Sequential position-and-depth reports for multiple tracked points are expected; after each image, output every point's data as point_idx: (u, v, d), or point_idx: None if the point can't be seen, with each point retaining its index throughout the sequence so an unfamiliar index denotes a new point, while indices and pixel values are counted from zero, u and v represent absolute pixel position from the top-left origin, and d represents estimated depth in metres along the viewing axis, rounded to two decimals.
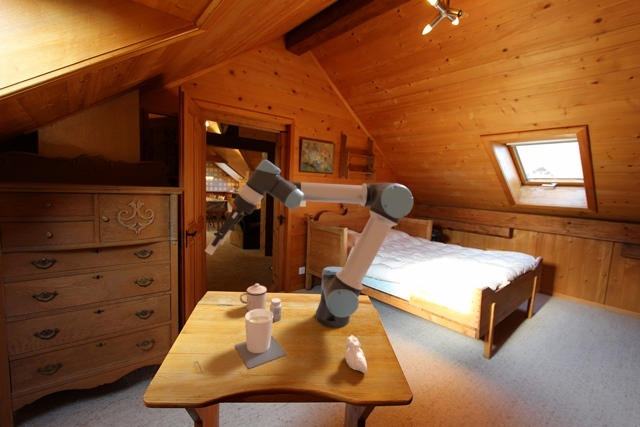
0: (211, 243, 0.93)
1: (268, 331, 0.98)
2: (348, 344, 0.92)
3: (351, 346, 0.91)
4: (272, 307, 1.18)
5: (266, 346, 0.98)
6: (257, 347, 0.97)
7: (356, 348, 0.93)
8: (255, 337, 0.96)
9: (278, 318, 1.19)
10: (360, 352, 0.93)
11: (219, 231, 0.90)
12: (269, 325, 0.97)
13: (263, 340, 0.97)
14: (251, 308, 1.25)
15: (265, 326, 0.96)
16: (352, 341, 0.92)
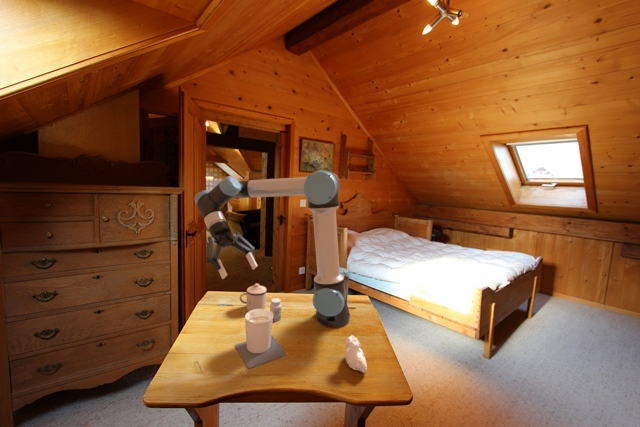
0: (218, 270, 0.99)
1: (268, 331, 0.98)
2: (348, 344, 0.92)
3: (351, 346, 0.91)
4: (272, 307, 1.18)
5: (266, 346, 0.98)
6: (257, 347, 0.97)
7: (356, 348, 0.93)
8: (255, 337, 0.96)
9: (278, 318, 1.19)
10: (360, 352, 0.93)
11: (206, 257, 0.99)
12: (269, 325, 0.97)
13: (263, 340, 0.97)
14: (251, 308, 1.25)
15: (265, 326, 0.96)
16: (352, 341, 0.92)
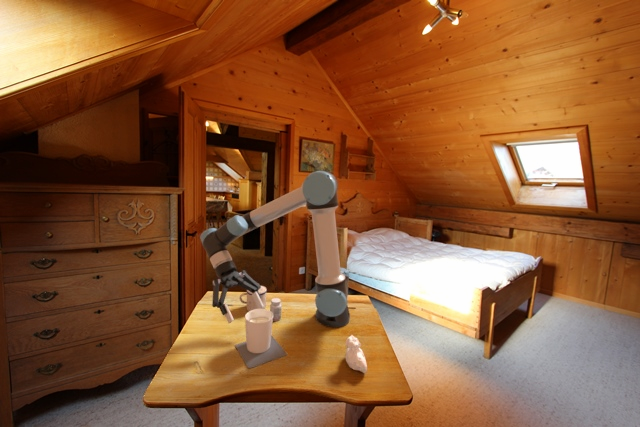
0: (225, 314, 0.98)
1: (268, 331, 0.98)
2: (348, 344, 0.92)
3: (351, 346, 0.91)
4: (272, 307, 1.18)
5: (266, 346, 0.98)
6: (257, 347, 0.97)
7: (356, 348, 0.93)
8: (255, 337, 0.96)
9: (278, 318, 1.19)
10: (360, 352, 0.93)
11: (212, 302, 0.98)
12: (269, 325, 0.97)
13: (263, 340, 0.97)
14: (251, 308, 1.25)
15: (265, 326, 0.96)
16: (352, 341, 0.92)
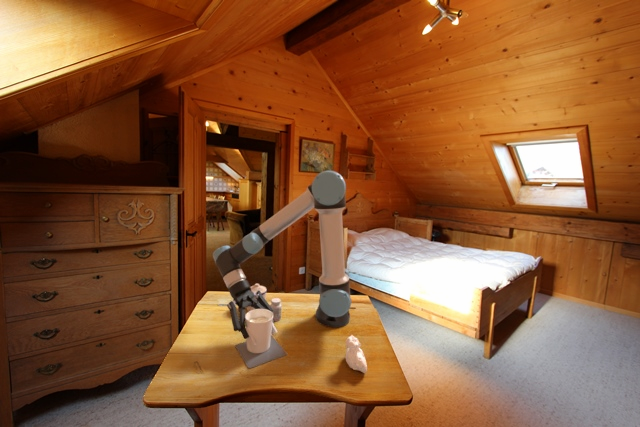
0: None
1: (268, 331, 0.98)
2: (348, 344, 0.92)
3: (351, 346, 0.91)
4: (272, 307, 1.18)
5: (266, 346, 0.98)
6: (257, 347, 0.97)
7: (356, 348, 0.93)
8: (255, 337, 0.96)
9: (278, 318, 1.19)
10: (360, 352, 0.93)
11: (233, 326, 0.96)
12: (269, 325, 0.97)
13: (263, 340, 0.97)
14: (251, 308, 1.25)
15: (265, 326, 0.96)
16: (352, 341, 0.92)
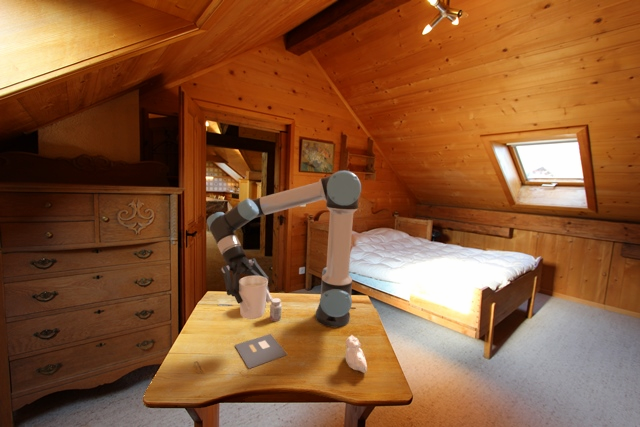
0: (240, 302, 0.93)
1: (262, 296, 0.95)
2: (348, 344, 0.92)
3: (351, 346, 0.91)
4: (272, 307, 1.18)
5: (260, 312, 0.96)
6: (251, 312, 0.94)
7: (356, 348, 0.93)
8: (249, 302, 0.93)
9: (278, 318, 1.19)
10: (360, 352, 0.93)
11: (226, 290, 0.93)
12: (263, 290, 0.95)
13: (257, 305, 0.94)
14: None
15: (259, 290, 0.93)
16: (352, 341, 0.92)
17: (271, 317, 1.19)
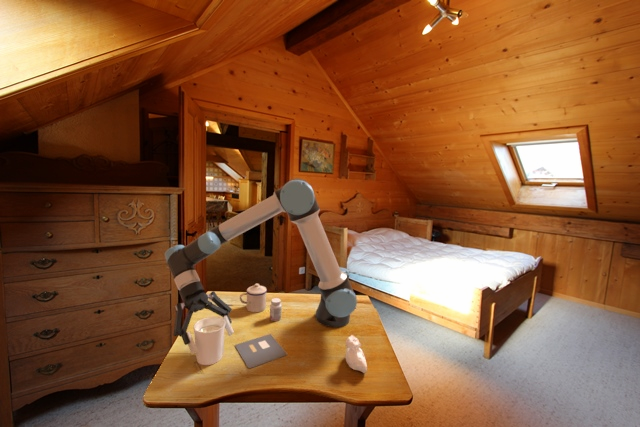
0: (188, 343, 0.88)
1: (218, 341, 0.91)
2: (348, 344, 0.92)
3: (351, 346, 0.91)
4: (272, 307, 1.18)
5: (216, 357, 0.92)
6: (206, 358, 0.90)
7: (356, 348, 0.93)
8: (203, 348, 0.89)
9: (278, 318, 1.19)
10: (360, 352, 0.93)
11: (174, 330, 0.88)
12: (219, 335, 0.91)
13: (212, 351, 0.90)
14: (251, 308, 1.25)
15: (214, 336, 0.89)
16: (352, 341, 0.92)
17: (271, 317, 1.19)
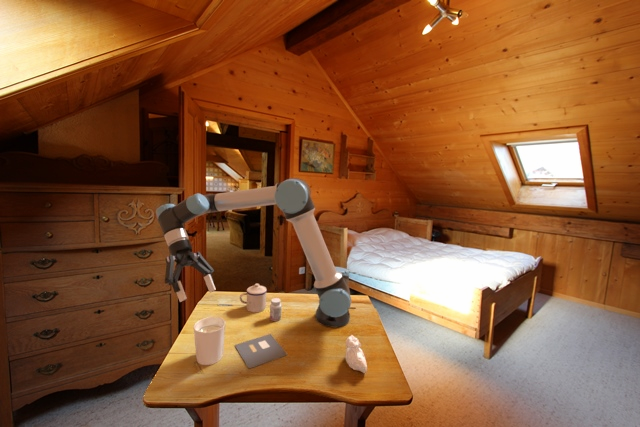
0: (177, 292, 0.95)
1: (218, 341, 0.91)
2: (348, 344, 0.92)
3: (351, 346, 0.91)
4: (272, 307, 1.18)
5: (216, 357, 0.92)
6: (206, 358, 0.90)
7: (356, 348, 0.93)
8: (203, 348, 0.89)
9: (278, 318, 1.19)
10: (360, 352, 0.93)
11: (165, 278, 0.94)
12: (219, 335, 0.91)
13: (212, 351, 0.90)
14: (251, 308, 1.25)
15: (214, 336, 0.89)
16: (352, 341, 0.92)
17: (271, 317, 1.19)
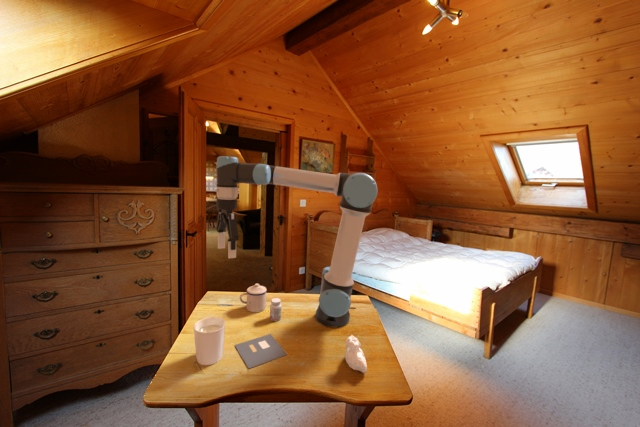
0: (230, 249, 1.02)
1: (218, 341, 0.91)
2: (348, 344, 0.92)
3: (351, 346, 0.91)
4: (272, 307, 1.19)
5: (216, 357, 0.92)
6: (206, 358, 0.90)
7: (356, 348, 0.93)
8: (203, 348, 0.89)
9: (278, 318, 1.19)
10: (360, 352, 0.93)
11: (232, 235, 0.99)
12: (219, 335, 0.91)
13: (212, 351, 0.90)
14: (251, 308, 1.25)
15: (214, 336, 0.89)
16: (352, 341, 0.92)
17: (271, 317, 1.19)
